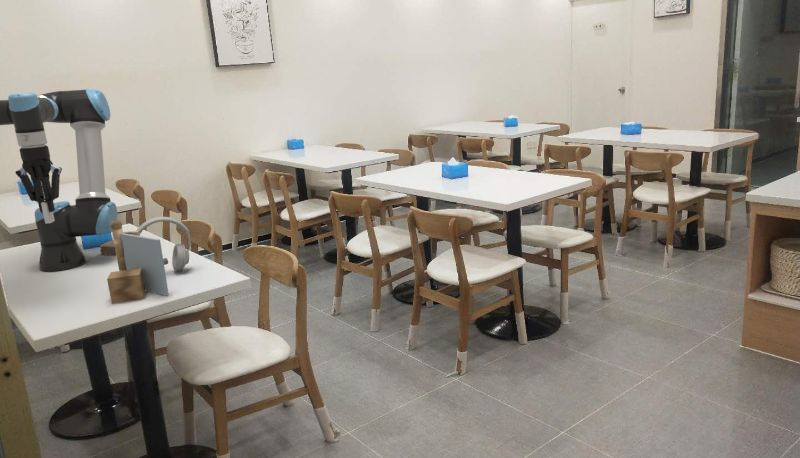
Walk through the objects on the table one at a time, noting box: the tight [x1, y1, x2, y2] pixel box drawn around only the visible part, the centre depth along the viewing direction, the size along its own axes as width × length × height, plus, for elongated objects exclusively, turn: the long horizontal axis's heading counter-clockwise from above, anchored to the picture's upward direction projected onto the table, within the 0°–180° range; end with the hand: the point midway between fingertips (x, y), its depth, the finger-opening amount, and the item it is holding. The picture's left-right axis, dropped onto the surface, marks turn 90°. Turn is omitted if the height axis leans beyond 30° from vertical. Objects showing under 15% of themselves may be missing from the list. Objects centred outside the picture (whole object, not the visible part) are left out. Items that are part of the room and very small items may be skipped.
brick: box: [99, 239, 116, 256], centre depth 239 cm, size 17×8×5 cm, turn 73°
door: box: [120, 233, 169, 296], centre depth 192 cm, size 4×20×18 cm, turn 56°
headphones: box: [135, 216, 192, 272], centre depth 207 cm, size 19×9×20 cm, turn 120°
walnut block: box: [106, 268, 147, 304], centre depth 187 cm, size 9×7×8 cm
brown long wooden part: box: [110, 219, 141, 271], centre depth 196 cm, size 8×3×22 cm, turn 93°
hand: (50, 222), depth 188 cm, fingers closed
